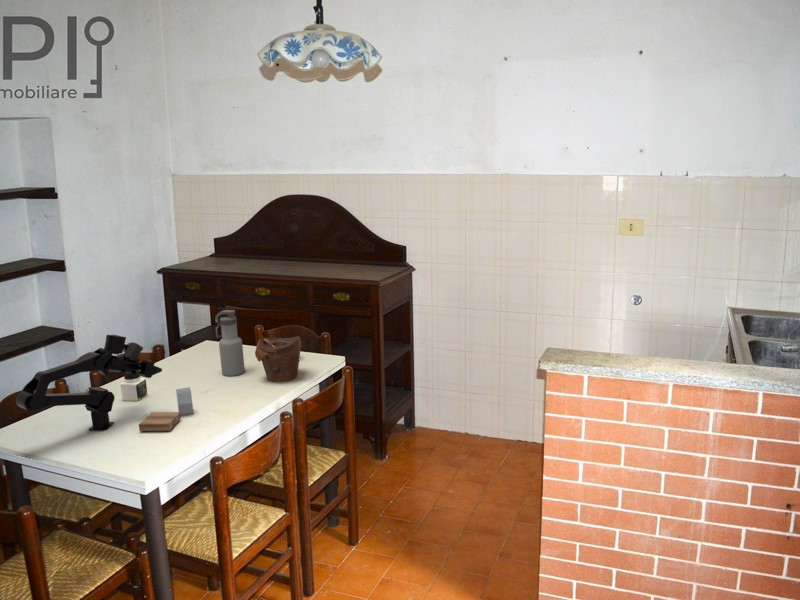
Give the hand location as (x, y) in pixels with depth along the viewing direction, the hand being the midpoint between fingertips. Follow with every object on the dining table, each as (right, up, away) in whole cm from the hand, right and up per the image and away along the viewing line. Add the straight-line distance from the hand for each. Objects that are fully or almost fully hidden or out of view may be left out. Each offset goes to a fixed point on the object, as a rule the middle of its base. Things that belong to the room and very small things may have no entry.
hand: (154, 368), depth 272 cm
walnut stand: (+8, -19, -17) cm, 27 cm away
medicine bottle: (-12, -13, +13) cm, 22 cm away
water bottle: (+21, -6, +38) cm, 44 cm away
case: (+44, -7, +30) cm, 53 cm away
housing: (+14, -16, -5) cm, 22 cm away
